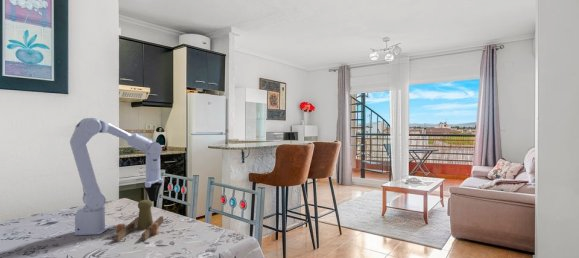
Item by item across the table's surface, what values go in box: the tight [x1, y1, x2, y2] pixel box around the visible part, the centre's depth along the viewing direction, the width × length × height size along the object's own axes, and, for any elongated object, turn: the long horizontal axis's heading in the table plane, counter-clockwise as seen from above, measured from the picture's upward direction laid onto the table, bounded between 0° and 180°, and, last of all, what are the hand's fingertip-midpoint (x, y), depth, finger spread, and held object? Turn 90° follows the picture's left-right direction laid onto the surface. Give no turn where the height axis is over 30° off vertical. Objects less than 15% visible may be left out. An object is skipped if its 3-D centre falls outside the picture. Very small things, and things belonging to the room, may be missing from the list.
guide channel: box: [114, 215, 164, 243], centre depth 122 cm, size 14×21×4 cm
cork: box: [136, 199, 154, 231], centre depth 126 cm, size 6×6×11 cm
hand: (153, 200), depth 136 cm, fingers open, 2 cm apart
